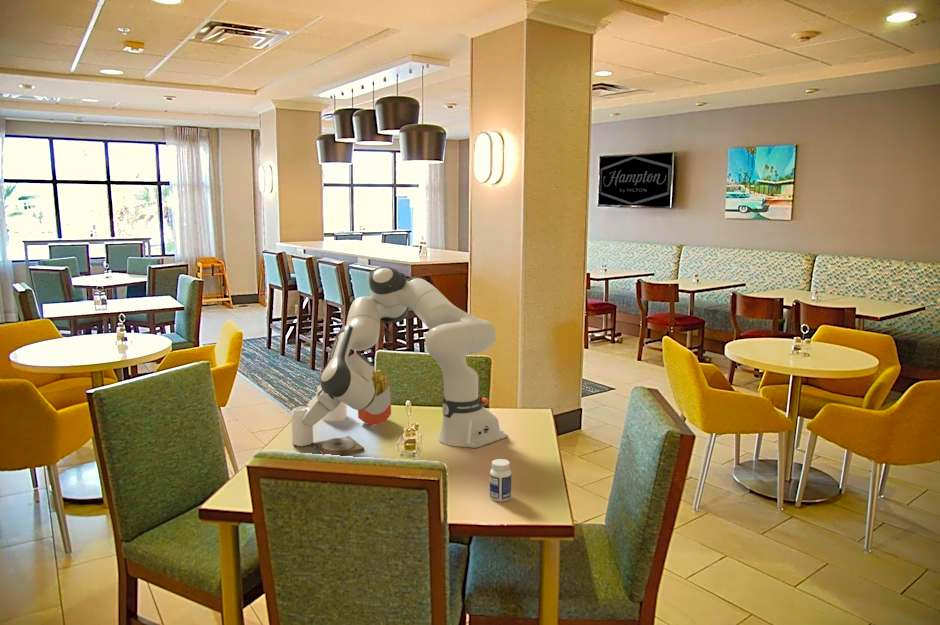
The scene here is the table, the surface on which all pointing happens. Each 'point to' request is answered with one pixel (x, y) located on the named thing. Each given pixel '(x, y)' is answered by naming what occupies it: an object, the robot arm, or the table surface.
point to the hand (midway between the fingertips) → (300, 423)
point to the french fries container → (378, 402)
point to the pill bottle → (500, 480)
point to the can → (300, 426)
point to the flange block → (339, 446)
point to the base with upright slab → (336, 413)
